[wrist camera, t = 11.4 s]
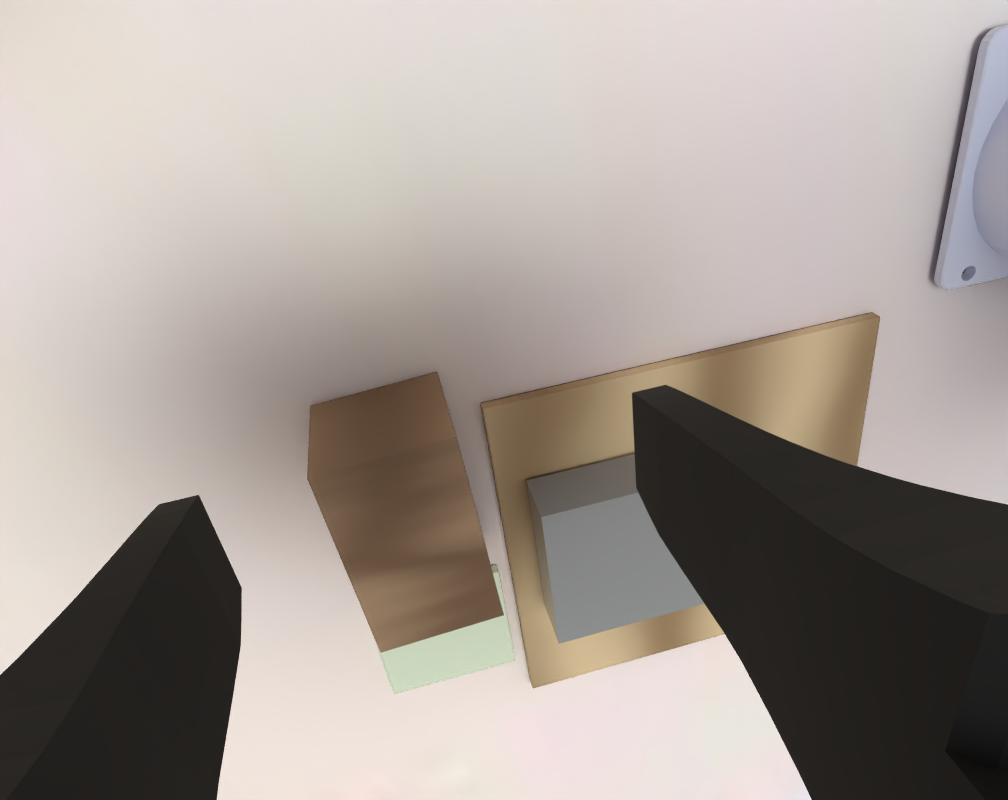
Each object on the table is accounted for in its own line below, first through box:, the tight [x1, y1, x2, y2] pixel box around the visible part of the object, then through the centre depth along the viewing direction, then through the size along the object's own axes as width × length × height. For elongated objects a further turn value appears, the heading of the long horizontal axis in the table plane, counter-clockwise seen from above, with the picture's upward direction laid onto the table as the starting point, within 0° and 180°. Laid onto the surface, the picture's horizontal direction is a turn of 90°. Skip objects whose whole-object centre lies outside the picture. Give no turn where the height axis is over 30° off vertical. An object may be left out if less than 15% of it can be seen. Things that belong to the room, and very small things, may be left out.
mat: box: [481, 313, 880, 688], centre depth 27 cm, size 14×14×1 cm
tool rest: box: [377, 565, 515, 694], centre depth 27 cm, size 5×5×1 cm
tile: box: [526, 454, 704, 644], centre depth 25 cm, size 8×2×6 cm
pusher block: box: [307, 372, 504, 653], centre depth 22 cm, size 4×4×7 cm
